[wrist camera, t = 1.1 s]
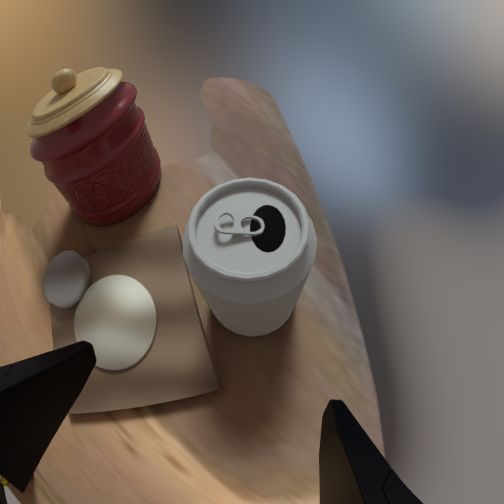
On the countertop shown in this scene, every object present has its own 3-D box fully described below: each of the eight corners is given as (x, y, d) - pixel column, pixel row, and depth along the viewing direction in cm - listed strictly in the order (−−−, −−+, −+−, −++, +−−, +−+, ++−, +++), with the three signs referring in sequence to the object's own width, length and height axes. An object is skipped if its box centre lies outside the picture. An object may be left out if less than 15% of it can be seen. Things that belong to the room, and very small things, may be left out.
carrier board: (222, 389, 20) (217, 389, 18) (72, 414, 18) (55, 414, 16) (178, 227, 28) (171, 212, 25) (57, 269, 26) (44, 259, 23)
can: (295, 338, 22) (330, 292, 12) (208, 336, 22) (162, 289, 12) (293, 259, 26) (314, 168, 15) (214, 258, 26) (186, 168, 15)
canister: (133, 238, 27) (49, 103, 12) (61, 219, 29) (-12, 123, 13) (180, 155, 33) (148, 31, 17) (108, 150, 35) (66, 54, 19)
